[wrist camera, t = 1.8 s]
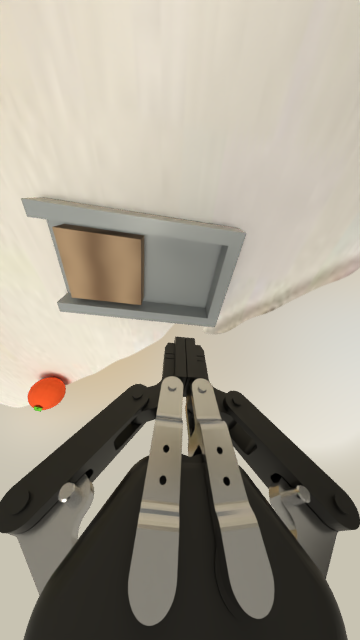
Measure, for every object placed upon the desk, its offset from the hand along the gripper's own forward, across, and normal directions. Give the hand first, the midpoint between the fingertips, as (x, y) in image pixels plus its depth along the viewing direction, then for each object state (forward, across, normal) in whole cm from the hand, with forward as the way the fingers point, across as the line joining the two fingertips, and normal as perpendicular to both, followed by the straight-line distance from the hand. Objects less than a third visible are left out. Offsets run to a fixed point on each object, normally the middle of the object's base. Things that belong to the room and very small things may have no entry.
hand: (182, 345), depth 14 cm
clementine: (+16, +27, +32) cm, 45 cm away
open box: (+15, +5, 0) cm, 16 cm away
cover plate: (+15, +10, 0) cm, 18 cm away
